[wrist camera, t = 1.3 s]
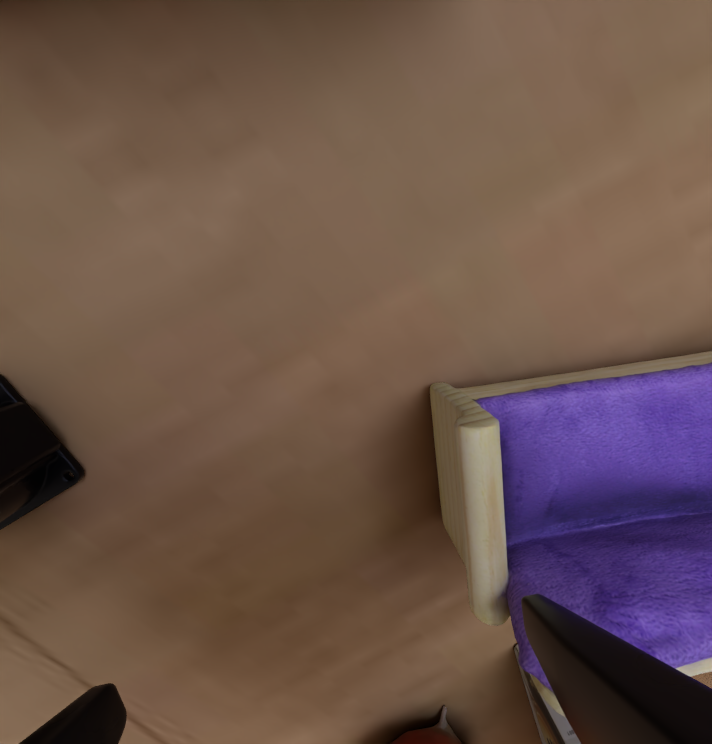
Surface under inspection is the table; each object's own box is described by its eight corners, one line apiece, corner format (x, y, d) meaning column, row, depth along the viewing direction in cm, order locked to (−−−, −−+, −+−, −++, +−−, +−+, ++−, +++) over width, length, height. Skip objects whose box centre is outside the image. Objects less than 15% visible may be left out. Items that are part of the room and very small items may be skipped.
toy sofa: (802, 322, 20) (1270, 355, 10) (782, 470, 22) (1160, 621, 12) (416, 378, 19) (506, 472, 9) (430, 525, 21) (518, 734, 11)
